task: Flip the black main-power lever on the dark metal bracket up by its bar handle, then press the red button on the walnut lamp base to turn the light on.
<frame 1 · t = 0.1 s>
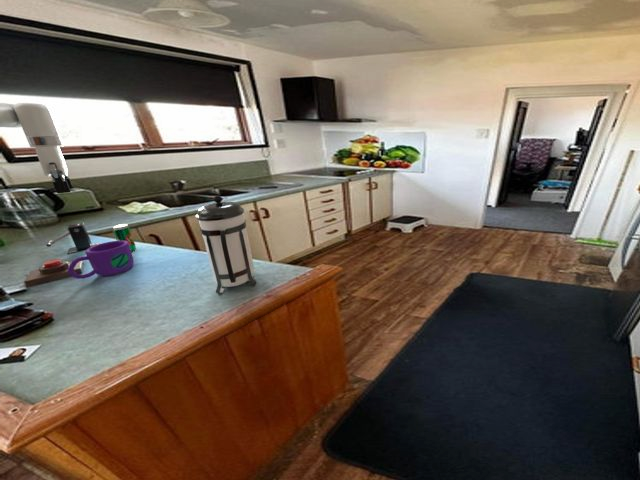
hand: (65, 190, 99), 29 cm above the counter, tool pointing down, fingers open, 9 cm apart
switch bracket: (85, 249, 121), on the counter
lamp base: (58, 274, 99), on the counter
coffee press: (238, 284, 90), on the counter
power lever: (64, 235, 116), point 8 cm above the counter, hinge at -25.0°
soda can: (129, 252, 118), on the counter
lamp button: (52, 263, 98), point 4 cm above the counter, slide at 0.1 cm
mug: (106, 274, 99), on the counter
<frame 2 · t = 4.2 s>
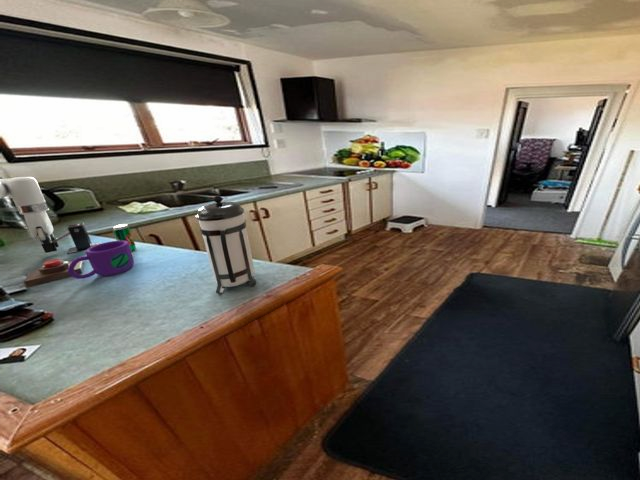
hand: (52, 249, 114), 3 cm above the counter, tool pointing down, fingers closed on power lever, 5 cm apart
power lever: (64, 235, 116), point 8 cm above the counter, hinge at -25.0°, touching gripper
everything else where it was.
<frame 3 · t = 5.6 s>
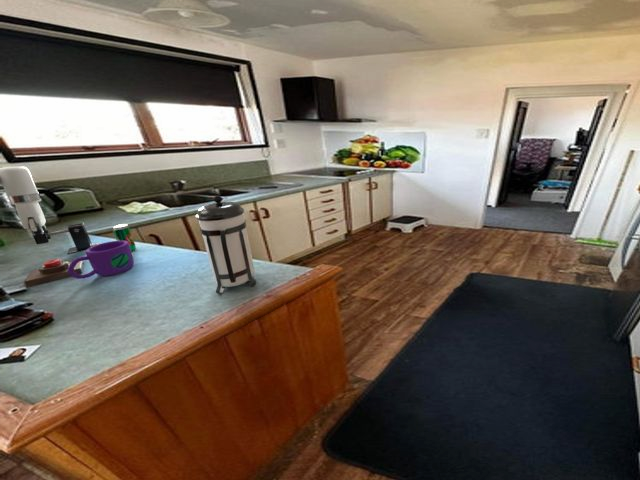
hand: (44, 241, 112), 7 cm above the counter, tool pointing down, fingers closed on power lever, 5 cm apart
power lever: (61, 231, 115), point 10 cm above the counter, hinge at -2.1°, touching gripper
everything else where it was.
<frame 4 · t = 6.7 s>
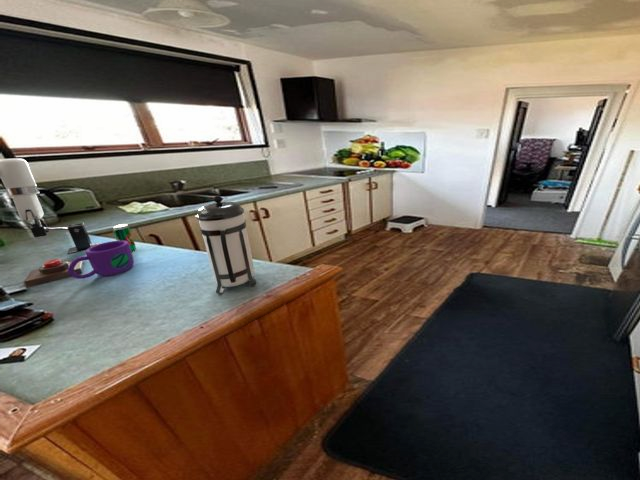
hand: (41, 234, 111), 10 cm above the counter, tool pointing down, fingers closed on power lever, 5 cm apart
power lever: (60, 229, 115), point 11 cm above the counter, hinge at 14.0°, touching gripper
everything else where it was.
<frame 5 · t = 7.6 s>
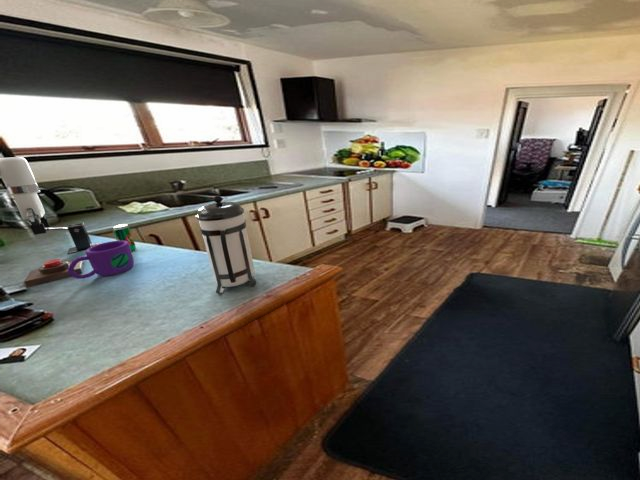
hand: (42, 230, 111), 12 cm above the counter, tool pointing down, fingers open, 9 cm apart
power lever: (60, 229, 115), point 11 cm above the counter, hinge at 13.8°
everything else where it was.
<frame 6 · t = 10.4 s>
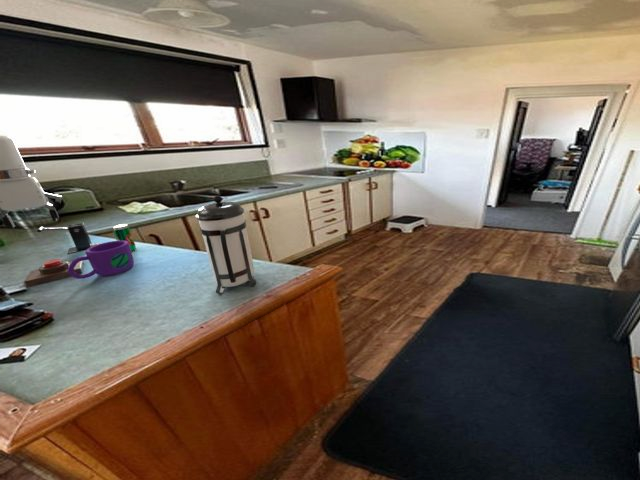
hand: (34, 223, 95), 19 cm above the counter, tool pointing down, fingers open, 9 cm apart
nothing on the counter moved.
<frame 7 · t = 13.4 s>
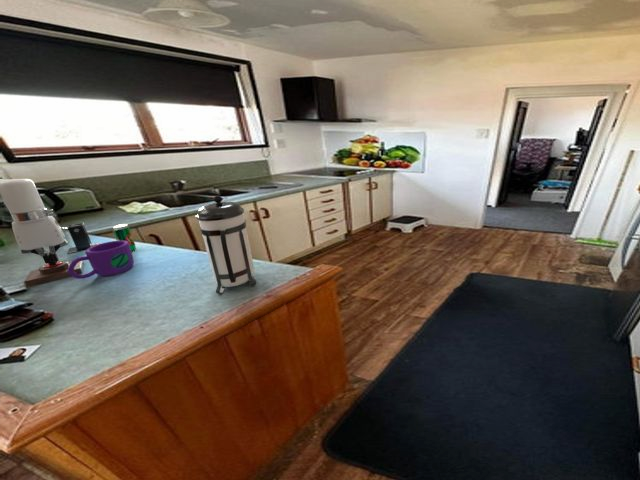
hand: (53, 263, 98), 4 cm above the counter, tool pointing down, fingers closed
lamp button: (54, 266, 98), point 4 cm above the counter, slide at -0.9 cm, touching gripper
everything else where it was.
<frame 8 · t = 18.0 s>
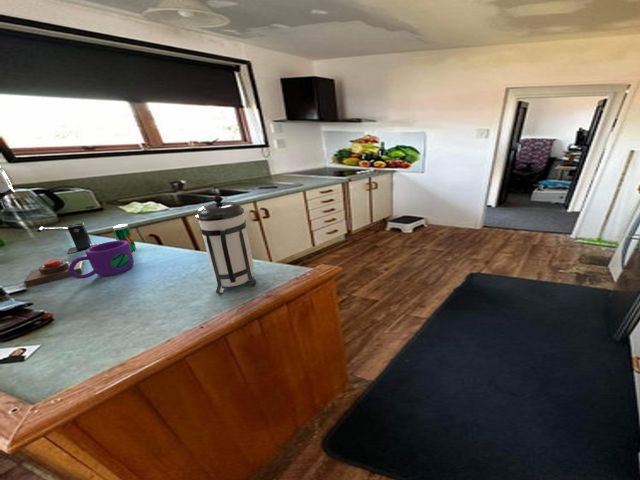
lamp button: (52, 263, 98), point 4 cm above the counter, slide at 0.1 cm
everything else where it was.
at the end: power lever at +14° (first picture: -25°); lamp button pushed in 1.1 cm at the most during the clip, back to where it started at the end; lamp button slide at 0.1 cm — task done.
